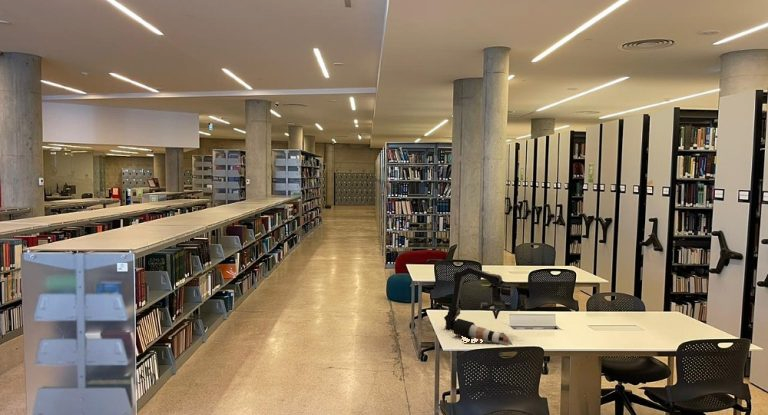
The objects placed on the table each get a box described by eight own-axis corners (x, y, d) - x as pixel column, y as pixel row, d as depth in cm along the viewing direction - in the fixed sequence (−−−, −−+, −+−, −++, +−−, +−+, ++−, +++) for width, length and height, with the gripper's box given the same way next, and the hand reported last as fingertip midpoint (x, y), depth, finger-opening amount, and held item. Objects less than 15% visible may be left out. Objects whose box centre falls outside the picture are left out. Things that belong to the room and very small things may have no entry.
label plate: (463, 343, 328) (463, 343, 327) (458, 332, 353) (458, 331, 353) (512, 344, 327) (512, 344, 327) (503, 332, 353) (503, 332, 353)
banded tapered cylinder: (505, 352, 325) (504, 340, 320) (454, 337, 343) (452, 325, 338) (511, 341, 332) (510, 329, 327) (460, 327, 350) (459, 315, 346)
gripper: (483, 297, 336) (483, 322, 337) (513, 297, 336) (513, 322, 337) (480, 293, 347) (480, 317, 348) (509, 294, 347) (509, 317, 348)
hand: (495, 319), depth 345 cm, fingers closed
